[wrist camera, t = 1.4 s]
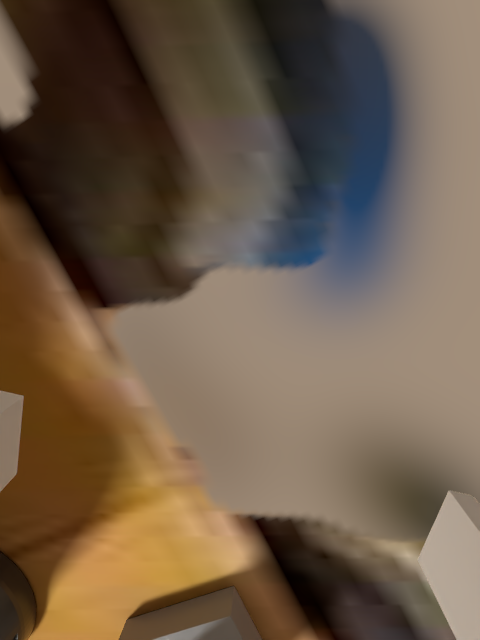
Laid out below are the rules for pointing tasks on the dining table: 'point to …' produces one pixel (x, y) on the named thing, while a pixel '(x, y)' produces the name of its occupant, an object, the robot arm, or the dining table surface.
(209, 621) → the plate
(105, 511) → the dining table surface
